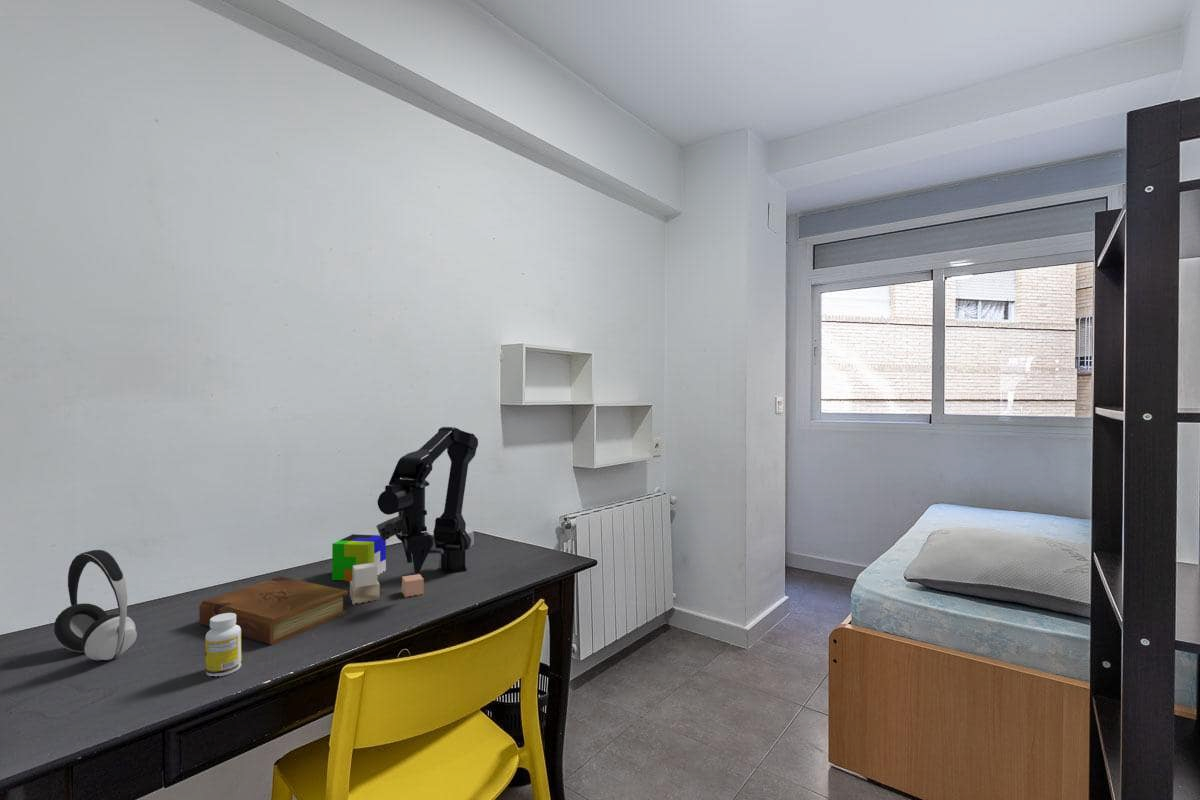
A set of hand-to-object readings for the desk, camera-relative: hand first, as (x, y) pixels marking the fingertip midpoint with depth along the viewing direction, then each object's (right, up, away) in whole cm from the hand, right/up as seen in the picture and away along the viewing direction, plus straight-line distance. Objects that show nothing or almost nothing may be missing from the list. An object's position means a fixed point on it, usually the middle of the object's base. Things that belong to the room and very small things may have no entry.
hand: (413, 567), depth 141 cm
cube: (0, -7, 0) cm, 7 cm away
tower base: (-11, -7, -4) cm, 13 cm away
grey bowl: (-3, -6, +45) cm, 45 cm away
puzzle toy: (-19, -6, +13) cm, 24 cm away
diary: (-25, -7, -17) cm, 31 cm away
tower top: (-10, -3, -4) cm, 12 cm away
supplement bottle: (-21, -7, -40) cm, 46 cm away
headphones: (-49, -7, -34) cm, 60 cm away
